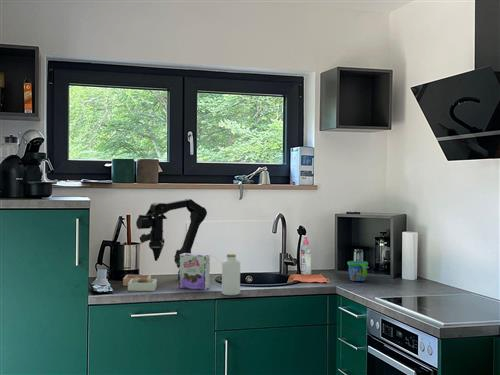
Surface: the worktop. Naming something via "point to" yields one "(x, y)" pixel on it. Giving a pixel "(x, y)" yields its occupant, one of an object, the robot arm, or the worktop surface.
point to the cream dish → (142, 285)
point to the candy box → (194, 271)
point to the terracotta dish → (129, 277)
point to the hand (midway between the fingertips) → (156, 259)
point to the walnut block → (143, 281)
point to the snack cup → (357, 270)
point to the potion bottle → (231, 275)
